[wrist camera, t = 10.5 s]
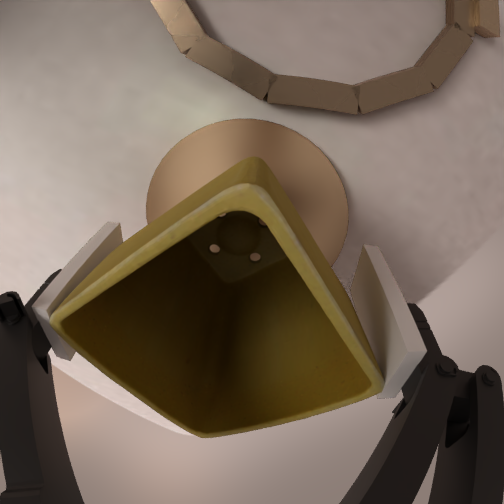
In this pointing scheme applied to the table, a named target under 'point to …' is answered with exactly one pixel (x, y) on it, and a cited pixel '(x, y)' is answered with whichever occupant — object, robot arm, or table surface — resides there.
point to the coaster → (279, 161)
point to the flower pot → (224, 313)
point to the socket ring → (327, 92)
